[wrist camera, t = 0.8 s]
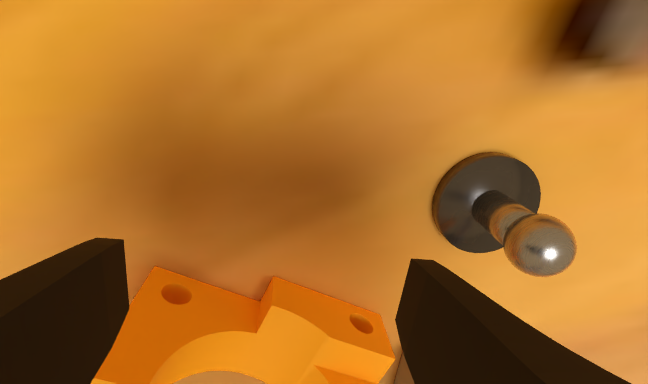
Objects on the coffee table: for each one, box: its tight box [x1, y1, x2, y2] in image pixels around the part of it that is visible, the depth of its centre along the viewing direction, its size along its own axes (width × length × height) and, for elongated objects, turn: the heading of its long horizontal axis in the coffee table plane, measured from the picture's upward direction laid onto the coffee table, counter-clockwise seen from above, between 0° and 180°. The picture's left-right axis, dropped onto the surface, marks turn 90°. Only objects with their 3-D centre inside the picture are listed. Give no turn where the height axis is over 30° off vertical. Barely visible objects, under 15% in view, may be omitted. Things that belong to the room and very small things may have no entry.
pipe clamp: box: [91, 266, 395, 384], centre depth 16 cm, size 12×4×6 cm, turn 63°
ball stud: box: [432, 152, 577, 277], centre depth 15 cm, size 5×5×6 cm
